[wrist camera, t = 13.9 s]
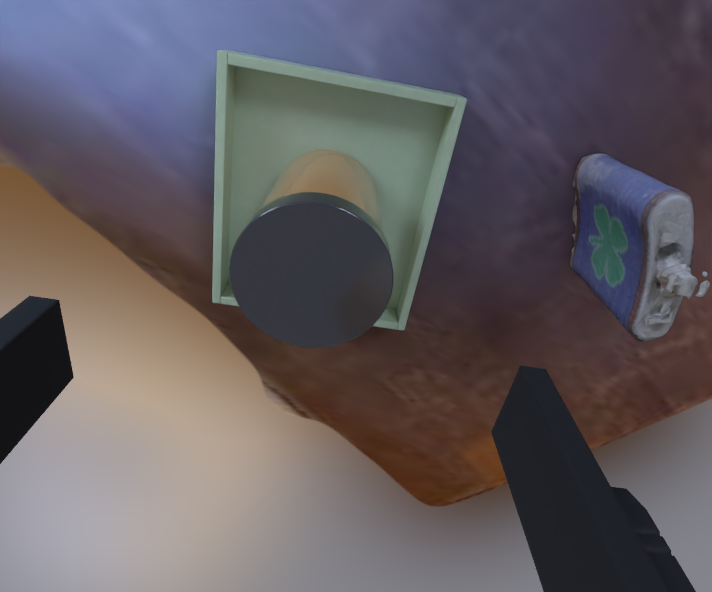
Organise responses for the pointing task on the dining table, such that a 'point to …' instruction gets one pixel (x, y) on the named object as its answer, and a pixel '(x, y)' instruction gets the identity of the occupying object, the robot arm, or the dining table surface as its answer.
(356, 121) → the serving tray
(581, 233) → the flask
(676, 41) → the dining table surface
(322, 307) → the jar
